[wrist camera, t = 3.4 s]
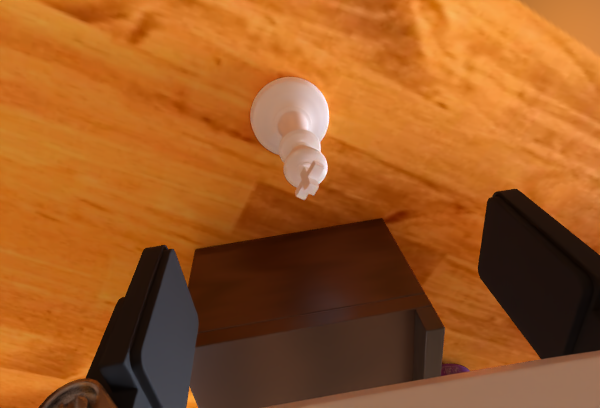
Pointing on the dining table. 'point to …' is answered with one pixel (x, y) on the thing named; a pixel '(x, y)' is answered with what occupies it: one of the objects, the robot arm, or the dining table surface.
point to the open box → (309, 318)
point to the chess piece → (293, 129)
